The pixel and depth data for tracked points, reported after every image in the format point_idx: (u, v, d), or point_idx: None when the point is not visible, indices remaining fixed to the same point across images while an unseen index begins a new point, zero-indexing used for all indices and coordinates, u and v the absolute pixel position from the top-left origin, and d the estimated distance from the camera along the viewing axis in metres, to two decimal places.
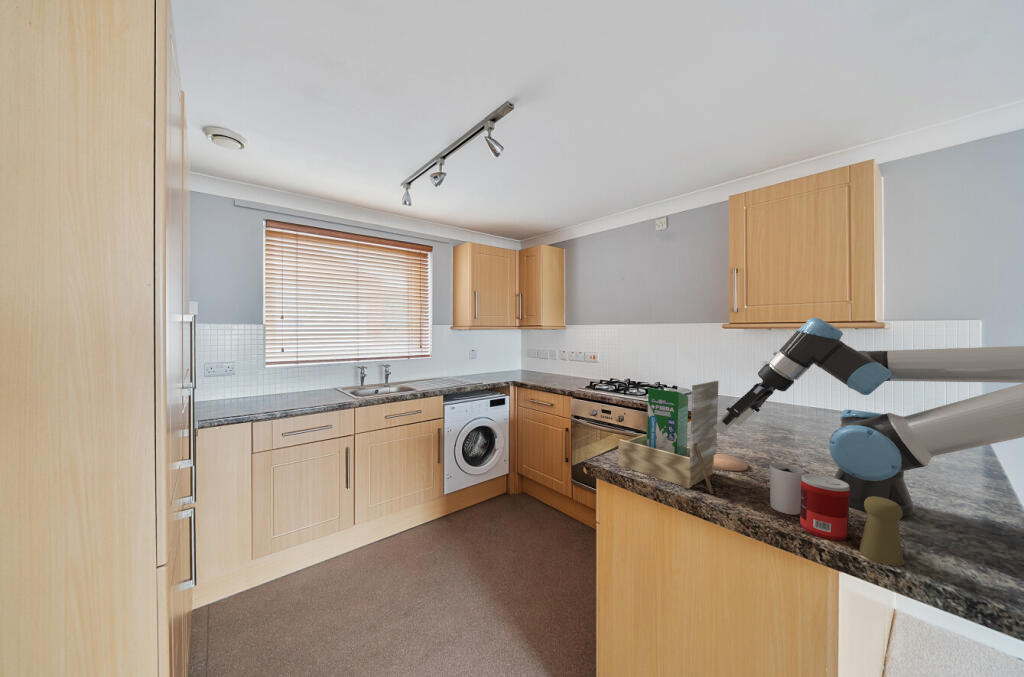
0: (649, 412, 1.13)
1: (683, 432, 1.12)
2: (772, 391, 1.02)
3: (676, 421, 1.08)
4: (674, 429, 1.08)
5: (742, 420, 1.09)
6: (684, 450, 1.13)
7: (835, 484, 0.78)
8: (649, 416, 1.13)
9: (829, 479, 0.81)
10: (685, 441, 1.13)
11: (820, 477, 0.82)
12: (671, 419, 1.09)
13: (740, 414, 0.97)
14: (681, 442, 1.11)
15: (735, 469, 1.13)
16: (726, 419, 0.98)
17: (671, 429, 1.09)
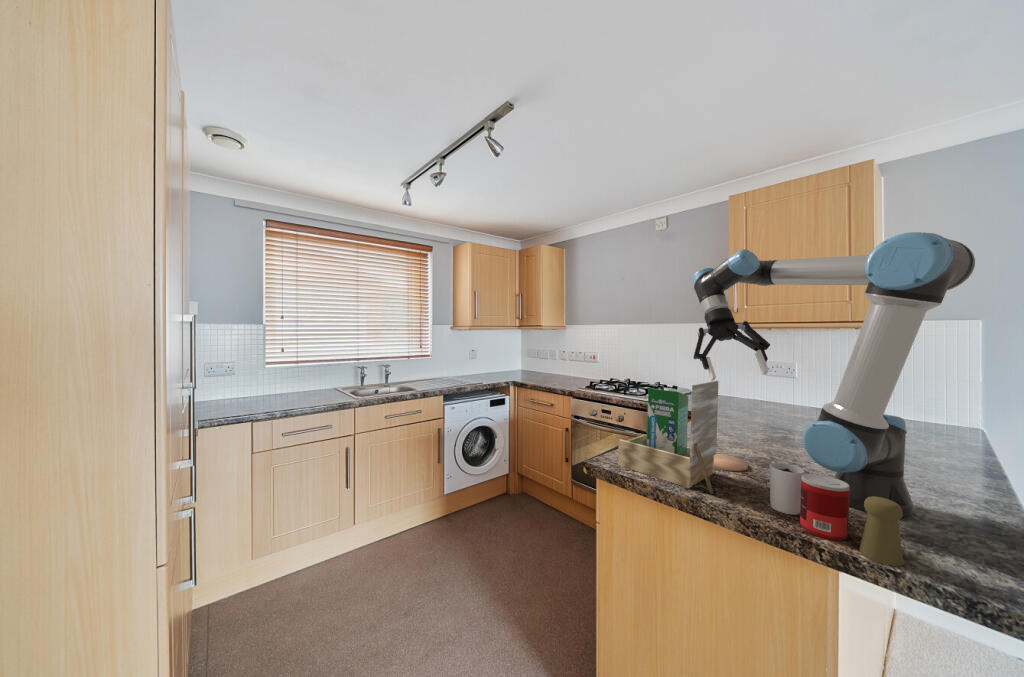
0: (649, 412, 1.13)
1: (683, 432, 1.12)
2: (745, 327, 1.10)
3: (676, 421, 1.08)
4: (674, 429, 1.08)
5: (762, 364, 1.04)
6: (684, 450, 1.13)
7: (835, 484, 0.78)
8: (649, 416, 1.13)
9: (829, 479, 0.81)
10: (685, 441, 1.13)
11: (820, 477, 0.82)
12: (671, 419, 1.09)
13: (704, 353, 1.09)
14: (681, 442, 1.11)
15: (735, 469, 1.13)
16: (703, 365, 1.09)
17: (671, 429, 1.09)
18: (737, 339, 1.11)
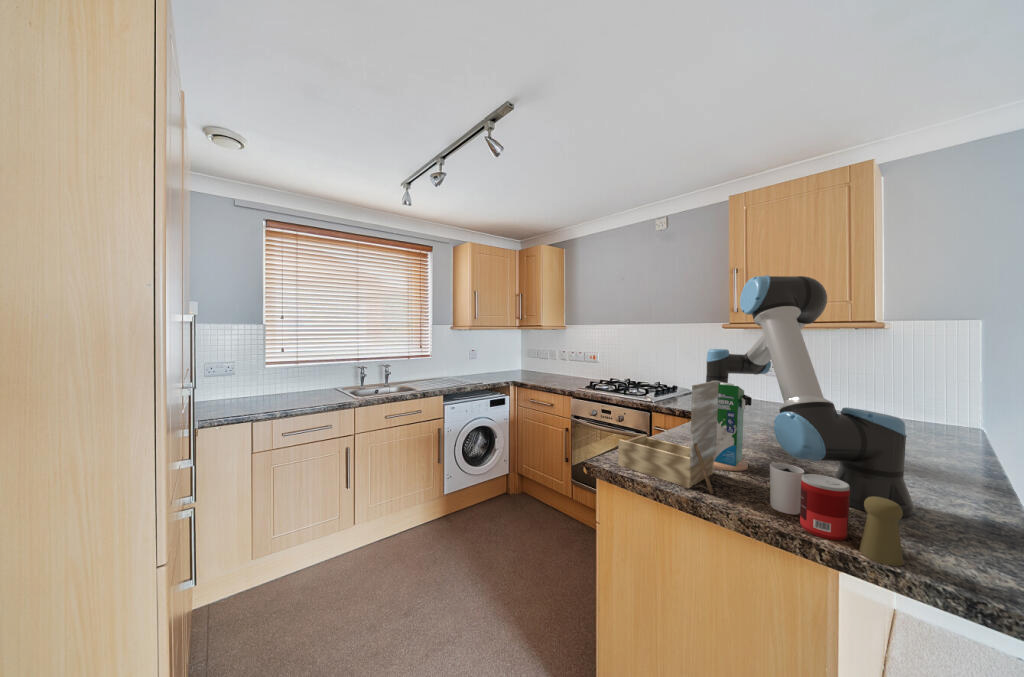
0: None
1: (741, 425, 1.18)
2: None
3: (736, 414, 1.14)
4: (733, 421, 1.14)
5: (741, 400, 1.15)
6: (741, 442, 1.19)
7: (835, 484, 0.78)
8: None
9: (829, 479, 0.81)
10: (741, 433, 1.19)
11: (820, 477, 0.82)
12: (731, 412, 1.15)
13: None
14: (739, 434, 1.16)
15: (735, 469, 1.13)
16: None
17: (731, 421, 1.15)
18: None
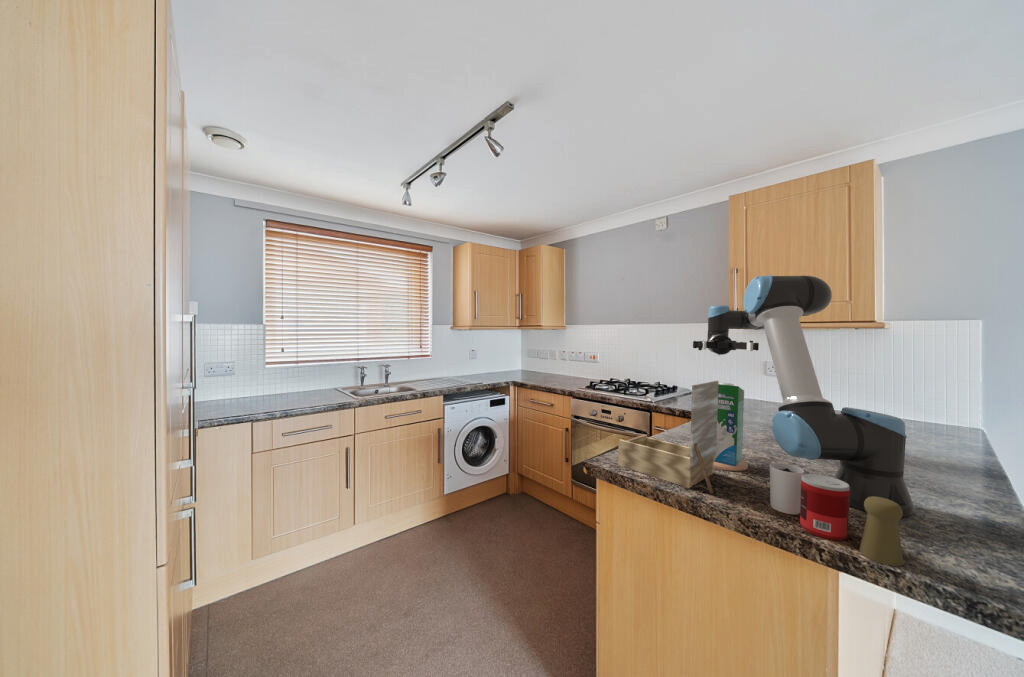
0: None
1: (741, 425, 1.18)
2: None
3: (736, 414, 1.14)
4: (734, 421, 1.14)
5: (749, 344, 1.23)
6: (741, 442, 1.19)
7: (835, 484, 0.78)
8: None
9: (829, 479, 0.81)
10: (741, 433, 1.19)
11: (820, 477, 0.82)
12: (731, 412, 1.14)
13: None
14: (739, 434, 1.16)
15: (735, 469, 1.13)
16: (698, 345, 1.31)
17: (731, 421, 1.14)
18: (733, 347, 1.33)
